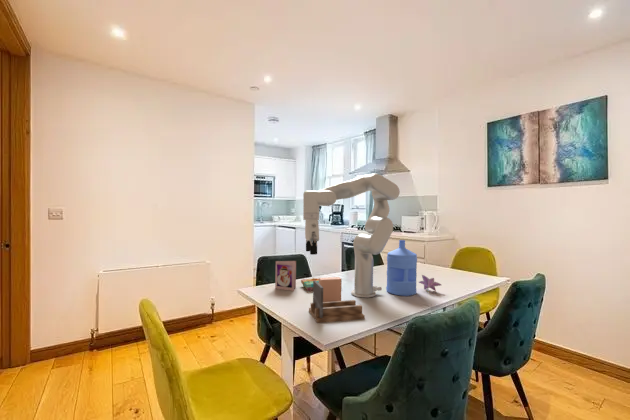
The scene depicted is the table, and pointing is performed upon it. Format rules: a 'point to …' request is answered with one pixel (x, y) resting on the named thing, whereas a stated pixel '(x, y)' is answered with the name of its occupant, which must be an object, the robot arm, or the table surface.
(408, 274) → the water jug
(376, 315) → the table surface
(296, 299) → the table surface
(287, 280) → the greeting card
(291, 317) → the table surface
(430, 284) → the lily
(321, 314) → the book rack
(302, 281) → the puzzle game
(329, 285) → the book
